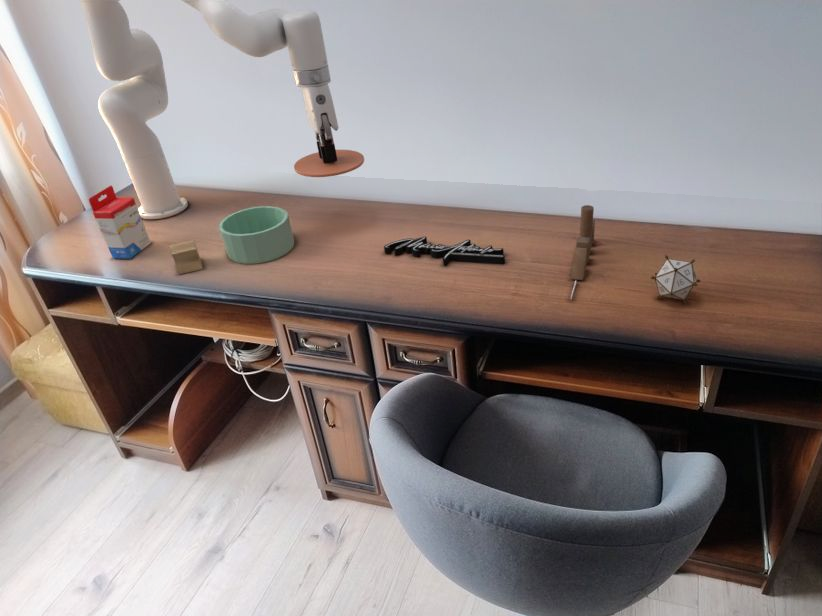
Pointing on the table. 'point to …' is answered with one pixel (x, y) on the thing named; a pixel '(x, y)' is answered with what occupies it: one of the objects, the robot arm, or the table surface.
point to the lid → (329, 164)
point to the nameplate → (447, 251)
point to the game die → (675, 279)
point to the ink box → (119, 224)
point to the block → (186, 257)
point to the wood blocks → (583, 244)
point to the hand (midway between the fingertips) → (328, 159)
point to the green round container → (257, 234)
